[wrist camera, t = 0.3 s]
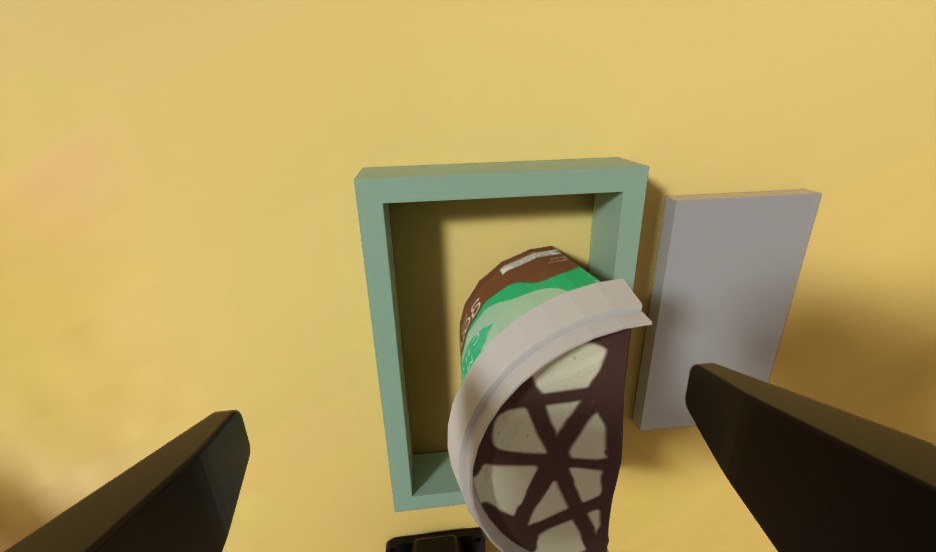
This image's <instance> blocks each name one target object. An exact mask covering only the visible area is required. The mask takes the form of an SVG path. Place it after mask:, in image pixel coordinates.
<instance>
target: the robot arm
mask: <svg viewBox="0 0 936 552" xmlns="http://www.w3.org/2000/svg"><path fill="white" fill-rule="evenodd" d="M685 402H686V406H687V409H688V411H689V413H690V415H691V416H692V418H693V420H694V422H695V424H696V425H697V427H698V429H699V431H700V432H701V434H702V436H703V438H704V439H705V441H706V443H707V445H708V447H709V448H710V450H711V452H712V454H713V455H714V457H715V459H716V461H717V462H718V464H719V466H720V467H721V469H722V471H723V472H724V474H725V476H726V477H727V479H728V480H729V482H730V483H731V485H732V486H733V488H734V489H735V491H736V492H737V494H738V495H739V496H740V498H741V499H742V501H743V502H744V504H745V505H746V506H747V508H748V509H749V511H750V512H751V514H752V515H753V516H754V518H755V519H756V521H757V522H758V524H759V525H760V526H761V528H762V529H763V531H764V532H765V534H766V535H767V536H768V538H769V539H770V541H771V542H772V544H773V545H774V547H775V548H776V549H777V551H778V552H936V447H935V446H934V445H933V444H932V443H929V442H927V441H924V440H921V439H919V438H916V437H913V436H910V435H908V434H905V433H902V432H900V431H897V430H894V429H891V428H889V427H886V426H883V425H881V424H878V423H875V422H872V421H870V420H867V419H864V418H862V417H859V416H856V415H854V414H851V413H848V412H845V411H843V410H840V409H837V408H835V407H832V406H829V405H826V404H824V403H821V402H818V401H816V400H813V399H810V398H807V397H805V396H802V395H799V394H797V393H794V392H791V391H789V390H786V389H783V388H780V387H778V386H775V385H772V384H770V383H767V382H764V381H761V380H759V379H756V378H753V377H751V376H748V375H745V374H742V373H740V372H737V371H734V370H732V369H729V368H726V367H724V366H721V365H718V364H715V363H703V364H695V365H693V366H692V367H691V369H690V372H689V378H688V384H687V390H686V396H685ZM249 456H250V444H249V440H248V436H247V433H246V429H245V425H244V422H243V418H242V415H241V413H240V412H239V411H237V410H228V411H218V412H214V413H212V414H211V415H209V416H208V417H206V418H205V419H203V420H202V421H200V422H199V423H197V424H196V425H194V426H193V427H191V428H190V429H188V430H187V431H185V432H184V433H182V434H181V435H179V436H178V437H176V438H175V439H173V440H171V441H170V442H168V443H167V444H165V445H164V446H162V447H161V448H159V449H158V450H156V451H155V452H153V453H152V454H150V455H149V456H147V457H146V458H144V459H143V460H141V461H140V462H138V463H137V464H135V465H134V466H132V467H131V468H129V469H128V470H126V471H125V472H123V473H122V474H120V475H119V476H117V477H116V478H114V479H113V480H111V481H110V482H108V483H106V484H105V485H103V486H102V487H100V488H99V489H97V490H96V491H94V492H93V493H91V494H90V495H88V496H87V497H85V498H84V499H82V500H81V501H79V502H78V503H76V504H75V505H73V506H72V507H70V508H69V509H67V510H66V511H64V512H63V513H61V514H60V515H58V516H57V517H55V518H54V519H52V520H51V521H49V522H48V523H46V524H44V525H43V526H41V527H40V528H38V529H37V530H35V531H34V532H32V533H31V534H29V535H28V536H26V537H25V538H23V539H22V540H20V541H19V542H17V543H16V544H14V545H13V546H11V547H10V548H8V549H7V550H5V551H4V552H222V550H223V547H224V545H225V542H226V539H227V536H228V533H229V530H230V526H231V523H232V519H233V515H234V512H235V508H236V504H237V501H238V497H239V493H240V490H241V486H242V482H243V479H244V475H245V471H246V468H247V464H248V460H249ZM386 552H485V536H484V532H483V531H482V530H480V529H473V530H465V531H457V532H448V533H440V534H432V535H423V536H415V537H406V538H398V539H392V540H389V541H388V542H387V543H386Z"/></svg>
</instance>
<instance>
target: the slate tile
mask: <svg viewBox="0 0 936 552" xmlns="http://www.w3.org/2000/svg"><path fill="white" fill-rule="evenodd" d="M821 196H822V193H819V192H815V191H811V190H807V189H802V190H782V191H762V192H742V193H722V194H702V195H682V196H666V198H665V205H664V211H663V218H662V225H661V231H660V238H659V245H658V252H657V258H656V265H655V272H654V278H653V285H652V292H651V299H650V305H649V312H648V318H649V319H650V320H651V321H652V325H646V332H645V339H644V346H643V352H642V359H641V366H640V372H639V379H638V386H637V393H636V399H635V406H634V413H633V419H632V420H633V421H634V423H635V424H636V426H637V427H638V429H639V430H640V431H645V430H655V429H665V428H675V427H685V426H694V425H696V424H695V422H694V420H693V418H692V416H691V415H690V413H689V411H688V409H687V406H686V402H685V396H686V390H687V384H688V378H689V372H690V369H691V367H692V366H693V365H695V364H703V363H715V364H718V365H721V366H724V367H726V368H729V369H732V370H734V371H737V372H740V373H742V374H745V375H748V376H751V377H753V378H756V379H759V380H761V381H764V382H767V383H768V381H769V378H770V374H771V371H772V367H773V364H774V360H775V357H776V353H777V350H778V346H779V343H780V339H781V336H782V332H783V329H784V325H785V322H786V318H787V315H788V311H789V308H790V304H791V301H792V297H793V294H794V290H795V287H796V283H797V280H798V276H799V273H800V269H801V266H802V263H803V259H804V256H805V252H806V249H807V245H808V242H809V238H810V235H811V231H812V228H813V224H814V221H815V217H816V214H817V210H818V207H819V203H820V200H821Z"/></svg>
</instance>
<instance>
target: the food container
mask: <svg viewBox="0 0 936 552" xmlns="http://www.w3.org/2000/svg"><path fill="white" fill-rule="evenodd" d="M641 310H642V303H641V302H640V300H639V299H638V298H637V296H636V295H635V294H634V292H633V291H632V290H631V288H630V287H629V286H628V284H627V283H626V282H625V280H624V279H623V278H622V279H616V280H610V281H604V282H600V281H599V280H598V279H596V278H595V277H594V276H592V275H591V274H589V273H588V272H587V271H585V270H584V269H583V268H581V267H580V266H578V265H577V264H576V263H574V262H573V261H572V260H570V259H569V258H568V257H566V256H565V255H563V254H562V253H561V252H559V251H558V250H557V249H555V248H554V247H552V246H548V247H542V248H536V249H530V250H527V251H525V252H523V253H521V254H519V255H516V256H514V257H512V258H510V259H507V260H505V261H503V262H501V263H500V264H499V265H498V266H496V267H495V268H494V269H493V270H492V271H491V272H489V273H488V274H487V275H486V276H485V277H484V278H482V279H481V280H480V281H479V282H478V284H477V286H476V287H475V289H474V290H473V292H472V294H471V295H470V297H469V298H468V300H467V301H466V303H465V306H464V310H463V313H462V317H461V321H460V355H461V377H462V382H461V385H460V387H459V389H458V392H457V394H456V397H455V399H454V401H453V404H452V409H451V413H450V418H449V423H448V452H449V457H450V462H451V467H452V469H453V472H454V474H455V477H456V479H457V482H458V485H459V487H460V490H461V492H462V495H463V497H464V500H465V502H466V505H467V507H468V509H469V512H470V513H471V515H472V516H473V518H474V519H475V521H476V522H477V524H478V525H479V527H480V528H481V529H482V530H483V532H484V533H485V534H486V536H487V537H488V539H489V540H490V542H491V543H493V544H494V545H495V546H496V547H497V548H498V549H499V550H500V551H501V552H609V551H608V549H607V545H608V542H609V538H608V528H609V518H610V511H611V504H612V498H613V494H614V490H615V486H616V482H617V478H618V474H619V469H620V464H621V458H622V440H623V407H624V388H625V379H626V370H627V361H628V352H629V343H630V334H631V328H634V327H640V326H646V325H652V321H651V320H650V319H649V318H648V317H647V316H646V315H645V314H644V313H643V312H642V311H641Z"/></svg>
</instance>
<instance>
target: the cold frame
mask: <svg viewBox="0 0 936 552" xmlns="http://www.w3.org/2000/svg"><path fill="white" fill-rule="evenodd" d="M648 172H649V166H646V165H643V164H639V163H636V162H632V161H629V160H625V159H622V158H619V157H615V158H591V159H566V160H542V161H518V162H493V163H469V164H445V165H420V166H396V167H372V168H362V169H361V171H360V172H359V173H358V175H357V176H356V177H355V178H354V184H355V192H356V200H357V208H358V216H359V224H360V232H361V241H362V249H363V257H364V265H365V273H366V281H367V289H368V297H369V305H370V313H371V321H372V330H373V338H374V346H375V354H376V362H377V370H378V378H379V386H380V394H381V402H382V410H383V419H384V427H385V435H386V443H387V451H388V459H389V467H390V475H391V483H392V491H393V499H394V508H395V512H401V511H409V510H418V509H427V508H436V507H444V506H453V505H462V504H466V502H465V500H464V497H463V495H462V492H461V490H460V487H459V485H458V482H457V479H456V477H455V474H454V472H453V469H452V467H451V462H450V457H449V452H448V451H444V452H434V453H424V454H415V455H413V454H412V444H411V433H410V423H409V412H408V402H407V391H406V381H405V371H404V360H403V350H402V339H401V329H400V318H399V308H398V297H397V287H396V276H395V266H394V255H393V245H392V235H391V224H390V214H389V203H400V202H421V201H441V200H462V199H482V198H503V197H523V196H544V195H564V194H585V193H595V197H594V209H593V221H592V232H591V244H590V255H589V267H588V273H589V274H591V275H592V276H594V277H595V278H596V279H598V280H599V281H600V282H604V281H610V280H616V279H622V278H623V279H624V280H625V282H626V283H627V284H628V286H629V287H630V288H631V290H632V291H633V286H634V278H635V271H636V263H637V256H638V248H639V240H640V233H641V225H642V217H643V210H644V202H645V195H646V187H647V179H648Z"/></svg>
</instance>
